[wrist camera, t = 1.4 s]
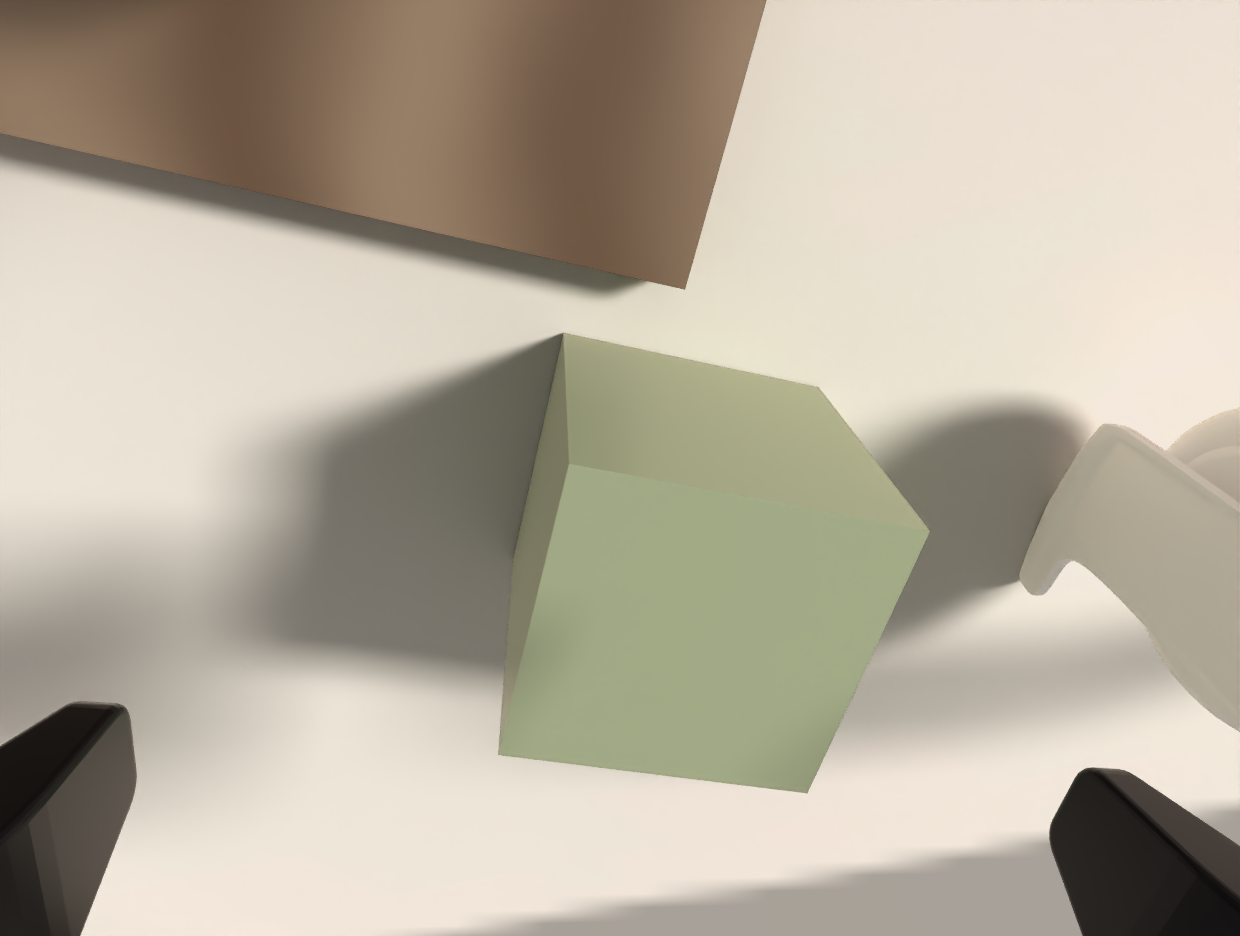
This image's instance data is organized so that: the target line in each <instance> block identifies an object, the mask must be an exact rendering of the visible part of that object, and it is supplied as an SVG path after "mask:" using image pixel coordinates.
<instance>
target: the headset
mask: <svg viewBox="0 0 1240 936" xmlns="http://www.w3.org/2000/svg"><path fill="white" fill-rule="evenodd" d="M1070 561H1076V562H1078V563H1080V564H1081V565H1083V566H1084V567H1086V568H1087V569H1088V570H1089V571H1091V572H1092V573H1093V574H1094V575H1095V576H1096V577H1097V578H1098V579H1100V580H1101V581H1102V582H1103V583H1104V584H1105V585H1106V586H1107V587H1108V588H1109V589H1110V590H1111V591H1112V592H1113V593H1114V594H1115V595H1116V596H1117V597H1118V598H1119V599H1120V600H1121V601H1122V602H1123V603H1124V604H1125V605H1126V606H1127V607H1128V608H1129V609H1130V611H1131V612H1132V613H1133V614H1134V615H1135V616H1136V617H1137V618H1138V619H1139V620H1140V621H1141V622H1142V623H1143V624H1144V625H1145V627H1146V629H1147V631H1148V633H1149V636H1150V638H1151V640H1152V642H1153V644H1154V646H1155V648H1156V650H1157V651H1158V653H1159V655H1160V656H1161V658H1162V660H1163V661H1164V663H1165V664H1166V666H1167V667H1168V669H1169V670H1170V671H1171V673H1172V674H1173V675H1174V677H1175V678H1176V679H1177V680H1178V681H1179V683H1180V684H1181V685H1182V686H1183V687H1184V688H1185V689H1186V690H1187V691H1188V692H1189V693H1190V694H1191V695H1192V697H1193V698H1194V699H1196V700H1197V701H1198V702H1199V703H1200V704H1201V705H1202V706H1203V707H1204V708H1205V709H1207V710H1208V711H1209V712H1210V713H1212V714H1213V715H1214V716H1216V717H1217V718H1219V719H1220V720H1222V721H1223V722H1225V723H1226V724H1228V725H1229V726H1231V727H1232V728H1234V729H1236V730H1238V731H1239V732H1240V408H1236V409H1233V410H1229V411H1226V412H1223V413H1220V414H1218V415H1215V416H1213V417H1211V418H1209V419H1207V420H1205V421H1203V422H1201V423H1199V424H1198V425H1196V426H1194V427H1193V428H1191V429H1190V430H1188V431H1187V432H1185V433H1184V434H1183V435H1182V436H1180V437H1179V438H1178V439H1177V440H1176V441H1175V442H1174V443H1173V444H1172V445H1171V446H1170V447H1169V448H1168V449H1167V450H1166V451H1165V450H1163V449H1162V448H1161V447H1159V446H1158V445H1156V444H1155V443H1153V442H1152V441H1150V440H1149V439H1147V438H1146V437H1144V436H1143V435H1141V434H1140V433H1138V432H1137V431H1135V430H1133V429H1131V428H1128V427H1125V426H1121V425H1117V424H1102V425H1101V426H1100V427H1099V428H1098V429H1097V431H1096V432H1095V433H1094V434H1093V436H1092V437H1091V438H1090V439H1089V440H1088V442H1087V443H1086V444H1085V445H1084V446H1083V448H1082V449H1081V450H1080V452H1079V453H1078V454H1077V456H1076V457H1075V459H1074V460H1073V462H1072V464H1071V465H1070V467H1069V469H1068V470H1067V472H1066V474H1065V476H1064V477H1063V479H1062V480H1061V482H1060V484H1059V485H1058V487H1057V489H1056V490H1055V492H1054V494H1053V495H1052V497H1051V499H1050V500H1049V502H1048V504H1047V506H1046V508H1045V511H1044V513H1043V515H1042V518H1041V520H1040V522H1039V525H1038V527H1037V529H1036V532H1035V534H1034V536H1033V539H1032V541H1031V543H1030V546H1029V548H1028V551H1027V553H1026V556H1025V559H1024V562H1023V564H1022V567H1021V570H1020V573H1019V578H1020V581H1021V583H1022V584H1023V586H1024V587H1025V589H1026V590H1027V591H1028V592H1029V593H1030V594H1032V595H1043V594H1045V593H1046V592H1047V591H1048V590H1049V588H1050V587H1051V586H1052V584H1053V583H1054V581H1055V580H1056V578H1057V577H1058V575H1059V574H1060V572H1061V571H1062V569H1063V568H1064V567H1065V565H1066V564H1068V563H1069V562H1070Z"/></svg>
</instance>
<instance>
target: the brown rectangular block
mask: <svg viewBox="0 0 1240 936" xmlns="http://www.w3.org/2000/svg"><path fill="white" fill-rule="evenodd" d="M765 4H766V0H0V133H2V134H6V135H10V136H15V137H19V138H24V139H28V140H32V141H37V142H41V143H46V144H50V145H54V146H59V147H63V148H67V149H72V150H76V151H81V152H85V153H89V154H94V155H98V156H102V157H107V158H111V159H116V160H120V161H124V162H129V163H133V164H137V165H142V166H146V167H151V168H155V169H159V170H164V171H168V172H172V173H177V174H181V175H186V176H190V177H194V178H199V179H203V180H208V181H212V182H216V183H221V184H225V185H229V186H234V187H238V188H243V189H247V190H251V191H256V192H260V193H264V194H269V195H273V196H278V197H282V198H286V199H291V200H295V201H299V202H304V203H308V204H313V205H317V206H321V207H326V208H330V209H334V210H339V211H343V212H348V213H352V214H356V215H361V216H365V217H370V218H374V219H378V220H383V221H387V222H391V223H396V224H400V225H405V226H409V227H413V228H418V229H422V230H426V231H431V232H435V233H440V234H444V235H448V236H453V237H457V238H461V239H466V240H470V241H475V242H479V243H483V244H488V245H492V246H496V247H501V248H505V249H510V250H514V251H518V252H523V253H527V254H532V255H536V256H540V257H545V258H549V259H553V260H558V261H562V262H567V263H571V264H575V265H580V266H584V267H588V268H593V269H597V270H602V271H606V272H610V273H615V274H619V275H623V276H628V277H632V278H637V279H641V280H645V281H650V282H654V283H658V284H663V285H667V286H672V287H676V288H680V289H685V288H686V284H687V281H688V277H689V273H690V270H691V266H692V263H693V259H694V256H695V252H696V249H697V245H698V242H699V238H700V234H701V231H702V227H703V224H704V220H705V217H706V213H707V210H708V206H709V203H710V199H711V195H712V192H713V188H714V185H715V181H716V178H717V174H718V171H719V167H720V163H721V160H722V156H723V153H724V149H725V146H726V142H727V139H728V135H729V132H730V128H731V124H732V121H733V117H734V114H735V110H736V107H737V103H738V100H739V96H740V93H741V89H742V85H743V82H744V78H745V75H746V71H747V68H748V64H749V61H750V57H751V53H752V50H753V46H754V43H755V39H756V36H757V32H758V29H759V25H760V22H761V18H762V14H763V11H764V7H765Z"/></svg>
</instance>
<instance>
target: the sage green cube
mask: <svg viewBox="0 0 1240 936" xmlns="http://www.w3.org/2000/svg"><path fill="white" fill-rule="evenodd" d="M929 533H930V530H929V529H928V528H927V526H926V525H925V524H924V522H923V521H922V520H921V519H920V517H919V516H918V515H917V513H916V512H915V511H914V510H913V508H912V507H911V506H910V504H909V503H908V502H907V501H906V499H905V498H904V497H903V495H902V494H901V493H900V492H899V490H898V489H897V488H896V486H895V485H894V484H893V482H892V481H891V480H890V479H889V477H888V476H887V475H886V473H885V472H884V471H883V470H882V468H881V467H880V466H879V464H878V463H877V462H876V461H875V459H874V458H873V457H872V455H871V454H870V453H869V452H868V450H867V449H866V448H865V446H864V445H863V444H862V442H861V441H860V440H859V439H858V437H857V436H856V435H855V433H854V432H853V431H852V430H851V428H850V427H849V426H848V424H847V423H846V422H845V421H844V419H843V418H842V417H841V415H840V414H839V413H838V412H837V410H836V409H835V408H834V406H833V405H832V404H831V403H830V401H829V400H828V399H827V397H826V396H825V395H824V393H823V392H822V391H821V390H820V388H819V387H814V386H809V385H805V384H800V383H795V382H791V381H786V380H781V379H777V378H772V377H767V376H762V375H758V374H753V373H748V372H744V371H739V370H734V369H730V368H725V367H720V366H716V365H711V364H706V363H702V362H697V361H692V360H688V359H683V358H678V357H674V356H669V355H664V354H659V353H655V352H650V351H645V350H641V349H636V348H631V347H627V346H622V345H617V344H613V343H608V342H603V341H599V340H594V339H589V338H585V337H580V336H575V335H571V334H566V333H563V338H562V342H561V347H560V351H559V356H558V360H557V365H556V369H555V374H554V378H553V383H552V387H551V391H550V396H549V400H548V405H547V409H546V414H545V418H544V423H543V427H542V432H541V436H540V441H539V445H538V450H537V454H536V459H535V463H534V468H533V472H532V476H531V481H530V485H529V490H528V494H527V499H526V503H525V508H524V512H523V517H522V521H521V526H520V530H519V535H518V539H517V544H516V548H515V553H514V557H513V563H512V577H511V590H510V603H509V617H508V630H507V644H506V657H505V670H504V684H503V697H502V711H501V724H500V737H499V751H498V755H503V756H511V757H519V758H527V759H535V760H543V761H551V762H560V763H568V764H576V765H584V766H592V767H600V768H608V769H616V770H624V771H632V772H640V773H648V774H656V775H664V776H672V777H680V778H688V779H697V780H705V781H713V782H721V783H729V784H737V785H745V786H753V787H761V788H769V789H777V790H785V791H793V792H801V793H808V791H809V788H810V786H811V784H812V782H813V780H814V778H815V776H816V774H817V771H818V769H819V767H820V765H821V763H822V761H823V759H824V757H825V754H826V752H827V750H828V748H829V746H830V744H831V742H832V739H833V737H834V735H835V733H836V731H837V729H838V727H839V725H840V722H841V720H842V718H843V716H844V714H845V712H846V710H847V708H848V705H849V703H850V701H851V699H852V697H853V695H854V693H855V690H856V688H857V686H858V684H859V682H860V680H861V678H862V676H863V673H864V671H865V669H866V667H867V665H868V663H869V661H870V659H871V656H872V654H873V652H874V650H875V648H876V646H877V644H878V642H879V639H880V637H881V635H882V633H883V631H884V629H885V627H886V624H887V622H888V620H889V618H890V616H891V614H892V612H893V610H894V607H895V605H896V603H897V601H898V599H899V597H900V595H901V593H902V590H903V588H904V586H905V584H906V582H907V580H908V578H909V575H910V573H911V571H912V569H913V567H914V565H915V563H916V561H917V558H918V556H919V554H920V552H921V550H922V548H923V546H924V544H925V541H926V539H927V537H928V535H929Z"/></svg>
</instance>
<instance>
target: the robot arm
mask: <svg viewBox="0 0 1240 936" xmlns="http://www.w3.org/2000/svg"><path fill="white" fill-rule="evenodd" d="M136 778H137V774H136V763H135V755H134V746H133V737H132V729H131V720H130V715H129V712H128V711H127V709H126V708H125V707H124V706H123V705H120V704H116V703H101V702H86V701H78V702H73V703H70V704H68V705H66V706H64V707H62V708H60V709H59V710H57V711H55V712H54V713H52V714H51V715H49V716H47V717H46V718H44V719H43V720H41V721H39V722H38V723H36V724H35V725H33V726H31V727H30V728H28V729H27V730H25V731H23V732H22V733H20V734H19V735H17V736H15V737H14V738H12V739H11V740H9V741H7V742H6V743H4V744H3V745H1V746H0V936H80V935H81V933H82V930H83V928H84V925H85V922H86V920H87V917H88V915H89V912H90V909H91V907H92V904H93V902H94V899H95V896H96V894H97V891H98V889H99V886H100V884H101V881H102V878H103V876H104V873H105V871H106V868H107V865H108V863H109V860H110V858H111V855H112V852H113V850H114V847H115V845H116V842H117V839H118V837H119V834H120V832H121V829H122V827H123V824H124V821H125V819H126V816H127V814H128V811H129V808H130V806H131V803H132V800H133V796H134V792H135V787H136ZM1049 839H1050V845H1051V849H1052V853H1053V855H1054V858H1055V861H1056V864H1057V867H1058V869H1059V872H1060V875H1061V877H1062V880H1063V883H1064V886H1065V888H1066V891H1067V894H1068V896H1069V899H1070V902H1071V905H1072V908H1073V911H1074V913H1075V916H1076V919H1077V922H1078V924H1079V927H1080V930H1081V932H1082V935H1083V936H1240V846H1239V845H1238V844H1236V843H1235V842H1233V841H1232V840H1230V839H1229V838H1227V837H1226V836H1224V835H1223V834H1221V833H1220V832H1218V831H1217V830H1215V829H1214V828H1212V827H1211V826H1209V825H1208V824H1206V823H1205V822H1203V821H1202V820H1200V819H1199V818H1197V817H1196V816H1194V815H1193V814H1191V813H1190V812H1188V811H1187V810H1185V809H1184V808H1182V807H1181V806H1179V805H1178V804H1177V803H1175V802H1174V801H1172V800H1171V799H1169V798H1168V797H1166V796H1165V795H1163V794H1162V793H1160V792H1159V791H1157V790H1156V789H1154V788H1153V787H1151V786H1150V785H1148V784H1147V783H1145V782H1144V781H1142V780H1141V779H1139V778H1138V777H1136V776H1135V775H1133V774H1131V773H1130V772H1127V771H1124V770H1120V769H1108V768H1086V769H1084V770H1082V771H1081V772H1079V773H1078V774H1077V776H1076V777H1075V779H1074V781H1073V783H1072V784H1071V786H1070V788H1069V790H1068V792H1067V794H1066V796H1065V797H1064V799H1063V801H1062V803H1061V805H1060V807H1059V809H1058V811H1057V812H1056V814H1055V816H1054V818H1053V820H1052V822H1051V825H1050V831H1049Z"/></svg>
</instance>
